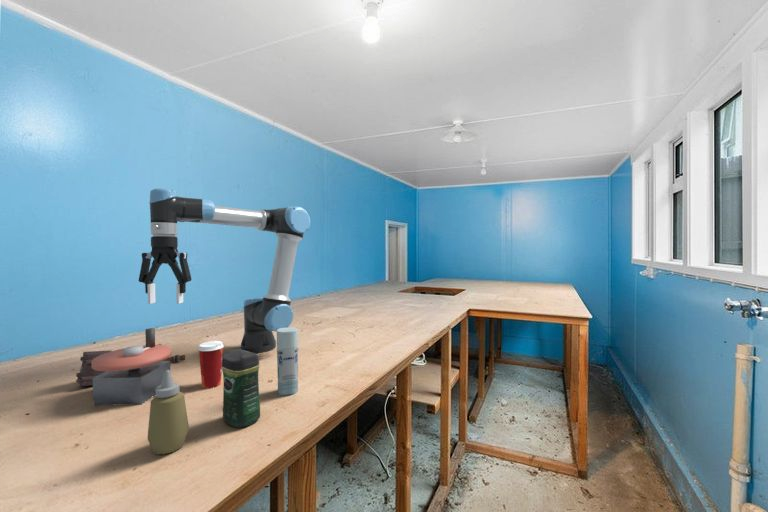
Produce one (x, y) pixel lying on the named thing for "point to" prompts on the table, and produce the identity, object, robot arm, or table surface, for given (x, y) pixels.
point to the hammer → (88, 373)
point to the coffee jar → (240, 388)
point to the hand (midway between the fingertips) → (165, 302)
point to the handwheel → (133, 356)
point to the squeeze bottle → (167, 417)
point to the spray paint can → (287, 360)
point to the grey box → (128, 385)
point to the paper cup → (211, 363)
